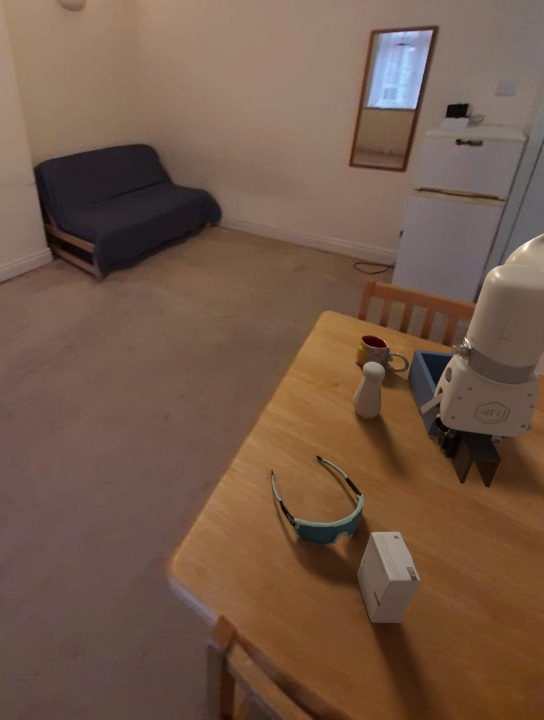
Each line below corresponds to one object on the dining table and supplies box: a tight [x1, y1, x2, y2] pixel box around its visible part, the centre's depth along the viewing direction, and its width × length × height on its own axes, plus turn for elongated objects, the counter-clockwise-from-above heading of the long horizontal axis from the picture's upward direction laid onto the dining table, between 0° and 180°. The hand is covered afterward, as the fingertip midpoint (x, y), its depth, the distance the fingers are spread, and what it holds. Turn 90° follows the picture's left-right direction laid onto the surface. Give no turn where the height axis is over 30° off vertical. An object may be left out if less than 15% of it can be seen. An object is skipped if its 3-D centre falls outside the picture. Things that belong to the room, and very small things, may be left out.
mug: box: [355, 334, 410, 373], centre depth 100 cm, size 12×7×7 cm, turn 45°
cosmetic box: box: [356, 531, 422, 624], centre depth 57 cm, size 6×4×12 cm
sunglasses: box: [270, 454, 365, 546], centre depth 72 cm, size 14×15×5 cm
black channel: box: [437, 427, 503, 489], centre depth 59 cm, size 4×10×6 cm, turn 168°
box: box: [406, 349, 503, 446], centre depth 87 cm, size 13×16×9 cm
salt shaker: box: [352, 362, 386, 420], centre depth 86 cm, size 6×6×13 cm
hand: (461, 450), depth 60 cm, fingers closed on black channel, 3 cm apart
